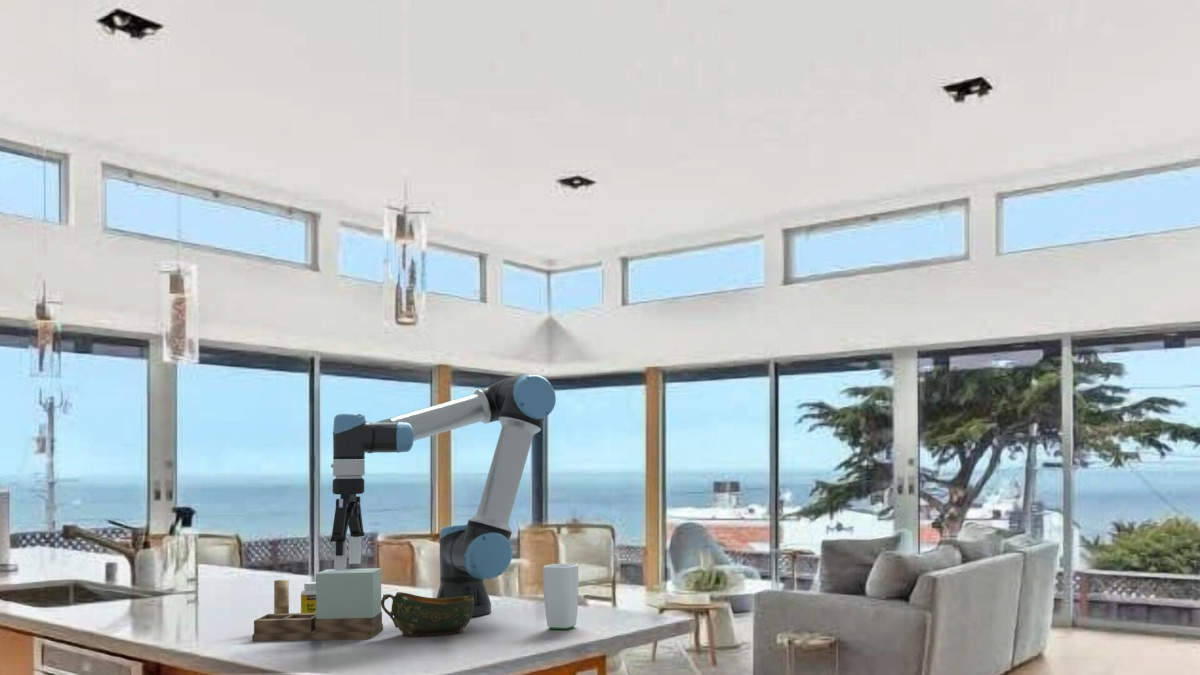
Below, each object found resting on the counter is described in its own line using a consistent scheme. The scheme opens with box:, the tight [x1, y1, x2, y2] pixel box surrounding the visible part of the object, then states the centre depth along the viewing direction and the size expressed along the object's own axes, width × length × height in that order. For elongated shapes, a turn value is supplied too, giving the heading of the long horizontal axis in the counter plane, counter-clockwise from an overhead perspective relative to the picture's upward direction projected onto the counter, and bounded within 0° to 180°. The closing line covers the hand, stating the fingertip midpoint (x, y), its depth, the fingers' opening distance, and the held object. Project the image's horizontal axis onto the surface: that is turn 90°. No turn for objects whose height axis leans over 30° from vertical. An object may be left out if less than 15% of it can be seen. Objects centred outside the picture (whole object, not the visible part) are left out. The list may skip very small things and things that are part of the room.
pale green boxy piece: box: [315, 567, 382, 619], centre depth 259 cm, size 14×9×10 cm, turn 89°
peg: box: [273, 579, 290, 614], centre depth 268 cm, size 4×4×12 cm
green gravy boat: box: [381, 591, 474, 638], centre depth 258 cm, size 13×20×10 cm, turn 78°
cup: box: [542, 563, 579, 630], centre depth 261 cm, size 7×7×15 cm
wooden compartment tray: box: [252, 611, 384, 642], centre depth 259 cm, size 28×12×14 cm, turn 89°
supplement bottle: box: [300, 581, 316, 613], centre depth 277 cm, size 6×6×10 cm
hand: (347, 566), depth 260 cm, fingers open, 13 cm apart
